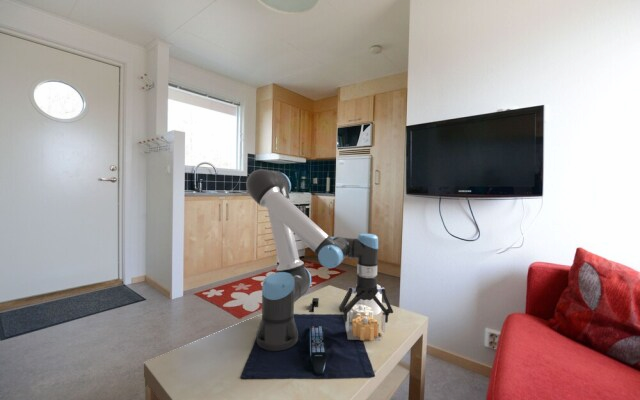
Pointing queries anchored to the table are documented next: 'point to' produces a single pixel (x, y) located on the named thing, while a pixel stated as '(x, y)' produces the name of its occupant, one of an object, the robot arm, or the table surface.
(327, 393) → the table surface
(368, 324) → the gear
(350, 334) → the gear board
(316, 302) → the black boxy piece
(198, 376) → the table surface
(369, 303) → the cup
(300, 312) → the table surface
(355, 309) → the gear
